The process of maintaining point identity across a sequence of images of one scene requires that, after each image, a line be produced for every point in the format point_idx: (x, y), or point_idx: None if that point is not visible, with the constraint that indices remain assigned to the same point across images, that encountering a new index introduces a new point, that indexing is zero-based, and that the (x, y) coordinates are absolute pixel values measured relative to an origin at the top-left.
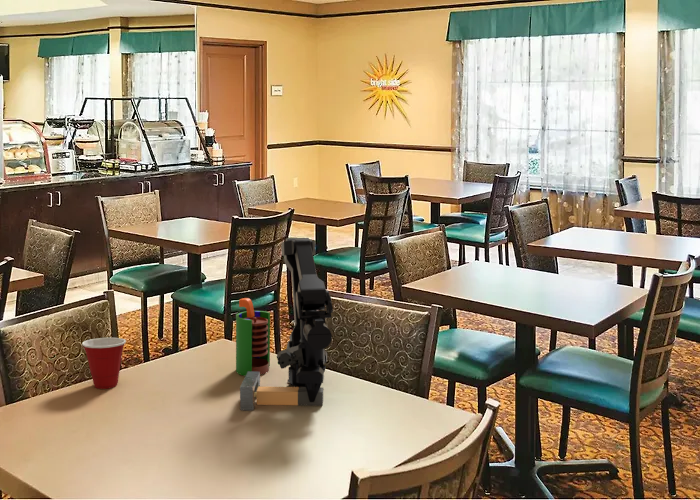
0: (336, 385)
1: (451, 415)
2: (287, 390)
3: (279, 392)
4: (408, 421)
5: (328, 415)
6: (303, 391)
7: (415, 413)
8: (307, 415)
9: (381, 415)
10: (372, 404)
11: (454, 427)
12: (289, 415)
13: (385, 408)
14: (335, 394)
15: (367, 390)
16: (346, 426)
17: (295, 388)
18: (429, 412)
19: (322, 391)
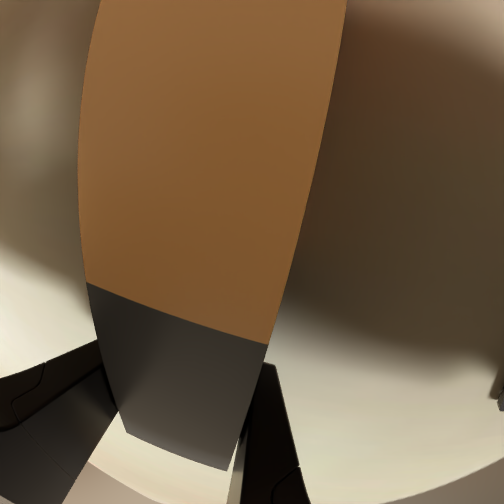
0: (447, 451)
1: (148, 493)
2: (124, 139)
3: (105, 23)
4: (99, 452)
5: (66, 339)
6: (111, 341)
7: (145, 479)
8: (42, 252)
9: (115, 445)
10: (196, 472)
11: (99, 468)
12: (30, 151)
13: (166, 472)
14: (338, 446)
15: (335, 496)
16: (22, 346)
17: (208, 285)
18: (155, 490)
19: (142, 439)
